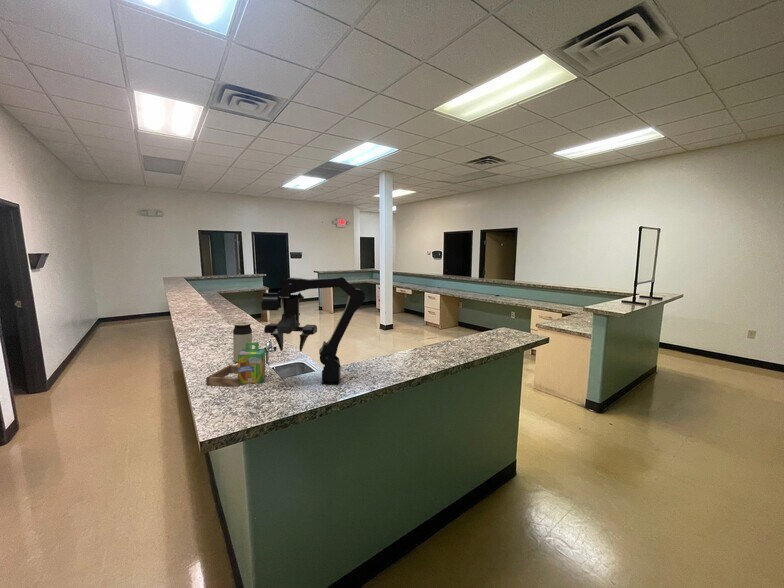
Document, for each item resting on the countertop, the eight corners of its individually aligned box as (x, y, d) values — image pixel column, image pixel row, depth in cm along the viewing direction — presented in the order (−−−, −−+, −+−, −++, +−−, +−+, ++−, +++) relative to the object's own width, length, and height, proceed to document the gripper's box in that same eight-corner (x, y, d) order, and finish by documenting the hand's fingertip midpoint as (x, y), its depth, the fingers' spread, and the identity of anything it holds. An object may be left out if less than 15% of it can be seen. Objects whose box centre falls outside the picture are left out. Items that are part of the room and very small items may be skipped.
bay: (257, 373, 133) (257, 366, 133) (238, 387, 118) (238, 379, 117) (229, 371, 133) (229, 365, 133) (206, 385, 118) (206, 377, 118)
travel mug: (244, 363, 145) (244, 325, 144) (229, 362, 147) (229, 323, 145) (255, 358, 153) (255, 322, 151) (241, 357, 154) (240, 321, 153)
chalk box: (237, 385, 119) (236, 346, 118) (241, 376, 128) (241, 341, 127) (263, 383, 122) (263, 345, 121) (265, 375, 131) (265, 340, 130)
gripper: (257, 312, 112) (257, 355, 114) (308, 314, 111) (308, 357, 113) (270, 308, 123) (270, 348, 125) (317, 310, 123) (317, 349, 124)
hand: (291, 350), depth 121 cm, fingers open, 7 cm apart
